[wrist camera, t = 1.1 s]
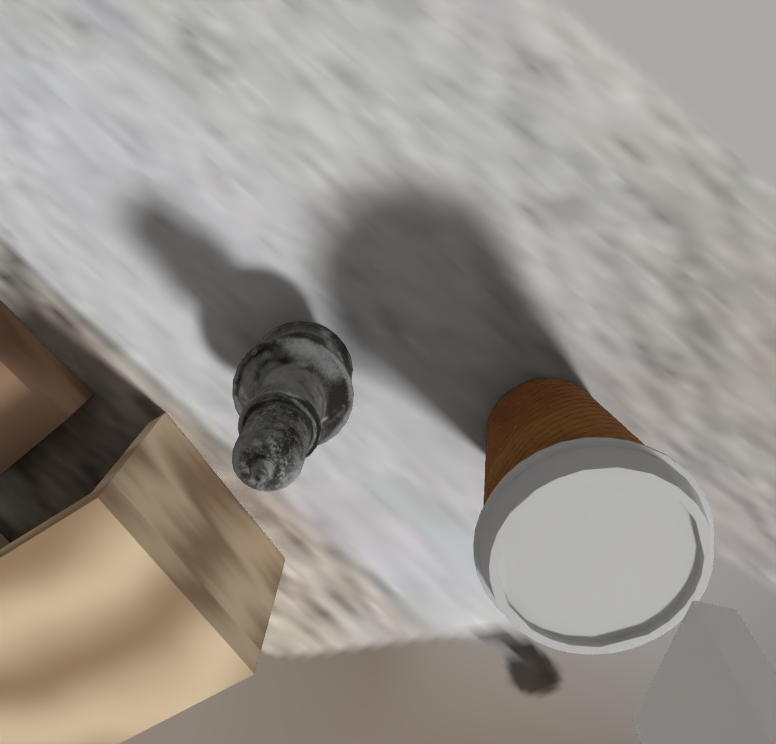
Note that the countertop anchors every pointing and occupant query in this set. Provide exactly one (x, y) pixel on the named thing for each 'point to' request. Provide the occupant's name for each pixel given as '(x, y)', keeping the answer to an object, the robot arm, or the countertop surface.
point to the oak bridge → (132, 600)
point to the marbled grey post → (289, 402)
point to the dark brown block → (31, 389)
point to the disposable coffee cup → (586, 525)
